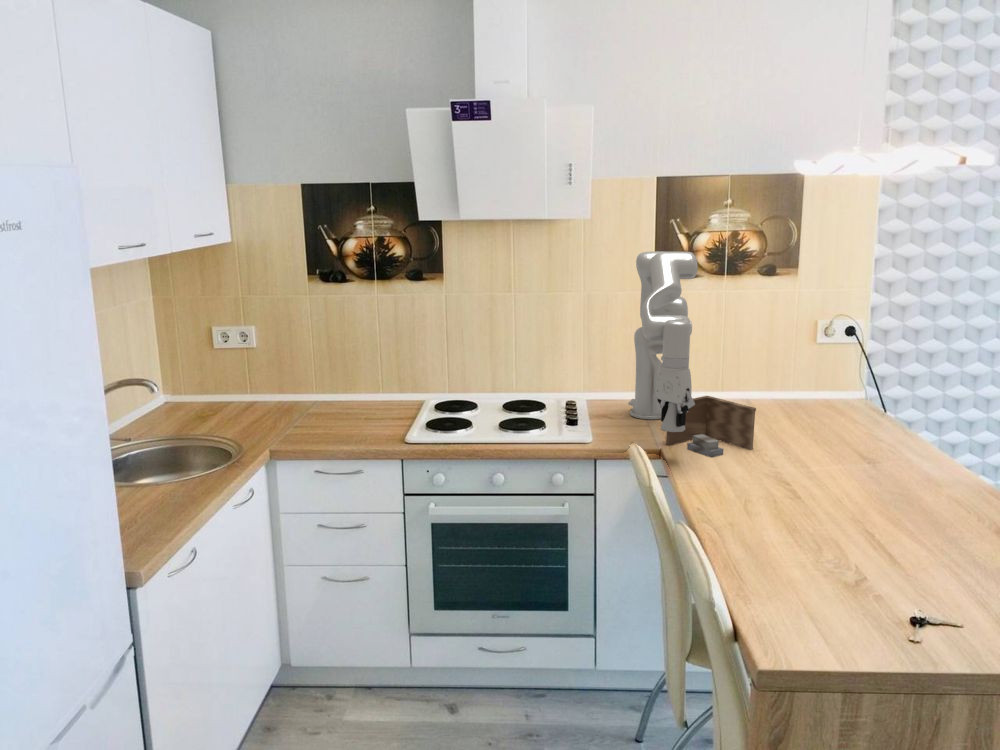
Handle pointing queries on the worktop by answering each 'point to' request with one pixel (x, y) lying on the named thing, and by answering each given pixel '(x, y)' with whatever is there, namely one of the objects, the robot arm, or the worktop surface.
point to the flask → (671, 420)
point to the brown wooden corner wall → (717, 422)
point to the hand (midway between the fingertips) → (673, 423)
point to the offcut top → (705, 442)
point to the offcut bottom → (705, 450)
